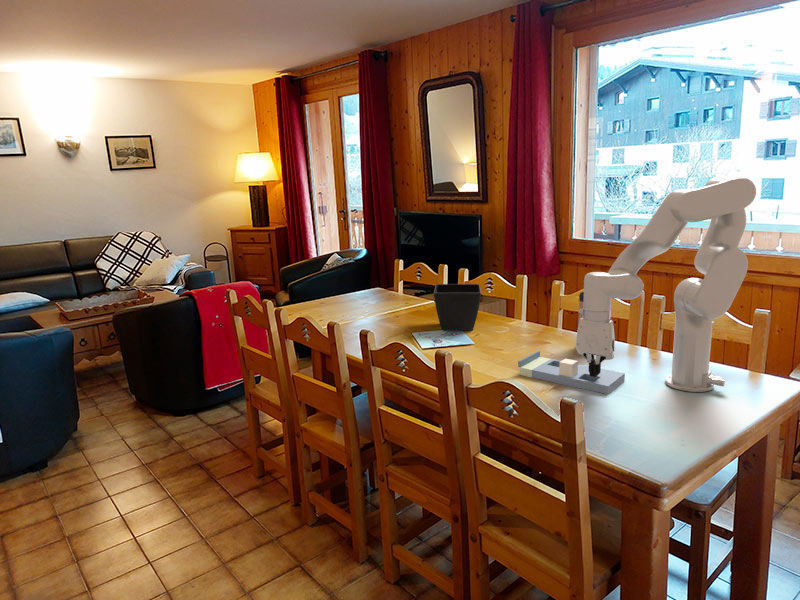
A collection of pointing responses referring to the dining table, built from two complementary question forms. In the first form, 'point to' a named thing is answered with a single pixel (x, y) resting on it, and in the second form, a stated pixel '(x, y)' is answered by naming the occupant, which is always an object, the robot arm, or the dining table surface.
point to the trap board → (550, 372)
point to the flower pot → (457, 305)
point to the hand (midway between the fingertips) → (594, 375)
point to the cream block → (568, 367)
